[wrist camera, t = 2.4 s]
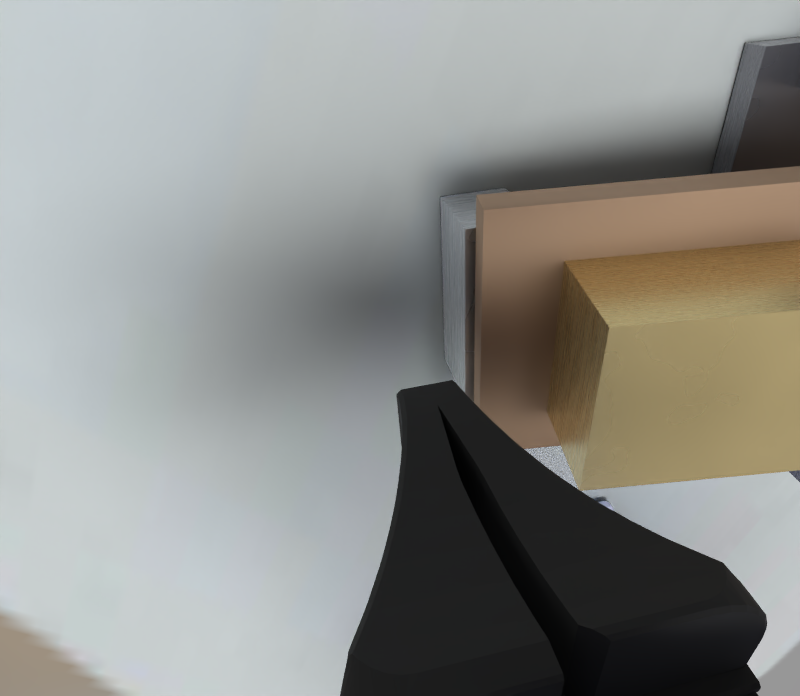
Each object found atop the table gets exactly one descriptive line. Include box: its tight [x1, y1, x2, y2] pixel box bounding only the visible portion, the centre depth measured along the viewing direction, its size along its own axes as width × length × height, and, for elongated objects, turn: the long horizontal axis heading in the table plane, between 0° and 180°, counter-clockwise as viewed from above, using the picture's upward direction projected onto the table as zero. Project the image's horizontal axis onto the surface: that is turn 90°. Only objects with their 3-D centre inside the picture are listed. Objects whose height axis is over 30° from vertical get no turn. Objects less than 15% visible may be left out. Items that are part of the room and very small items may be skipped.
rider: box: [547, 240, 800, 491], centre depth 14 cm, size 5×6×3 cm
